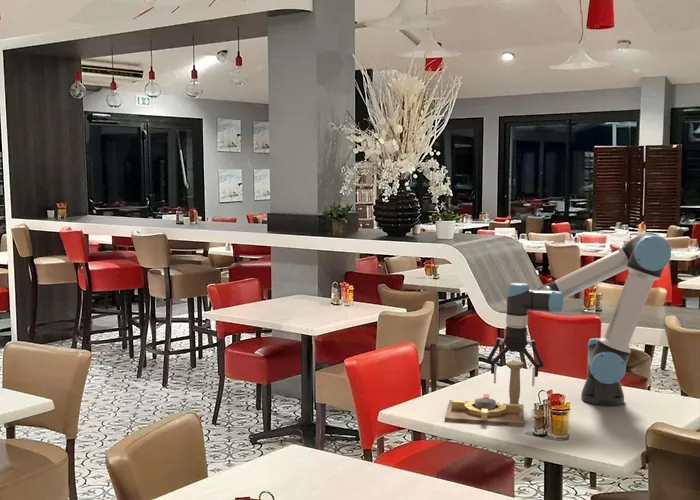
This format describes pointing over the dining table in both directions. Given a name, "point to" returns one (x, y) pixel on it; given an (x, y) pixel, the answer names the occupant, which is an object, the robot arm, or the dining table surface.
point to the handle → (514, 381)
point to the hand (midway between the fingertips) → (513, 384)
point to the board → (489, 404)
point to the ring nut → (485, 413)
